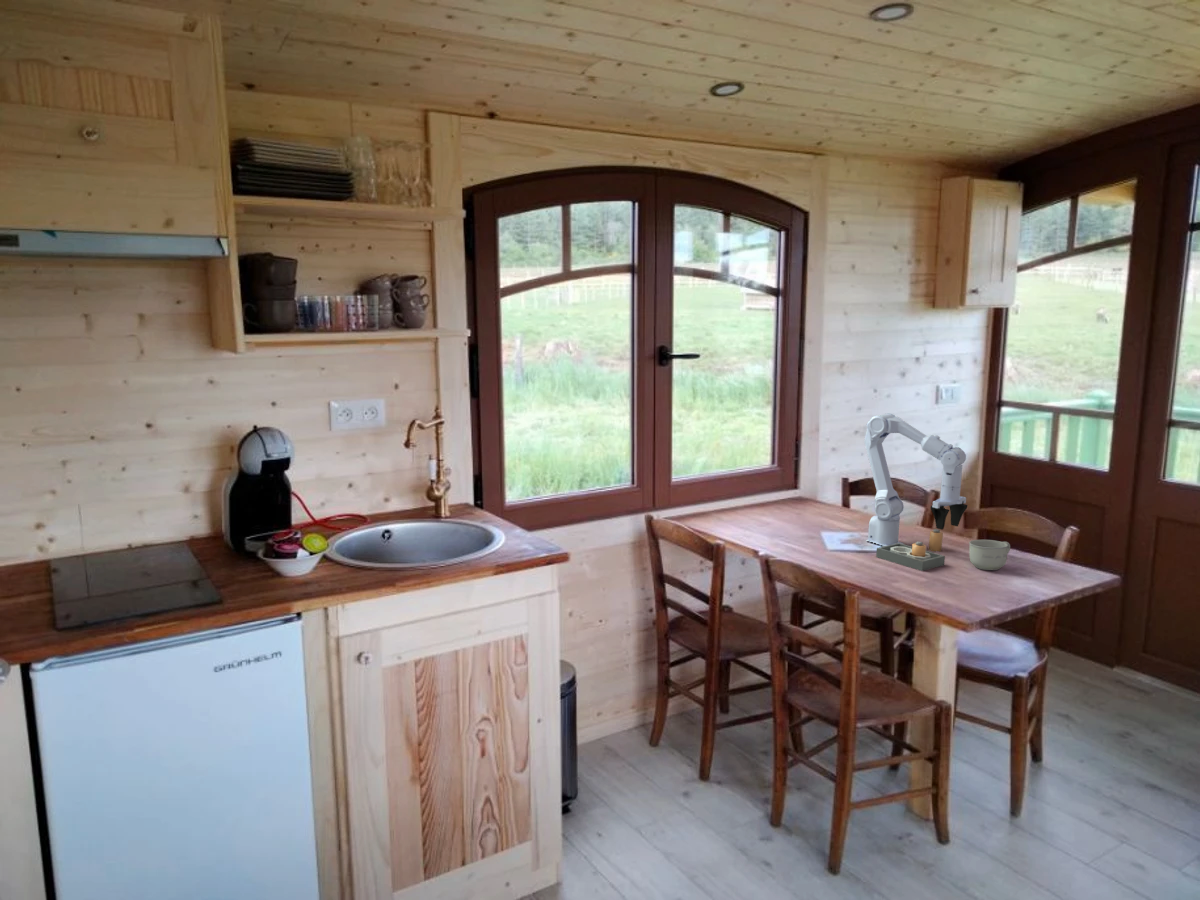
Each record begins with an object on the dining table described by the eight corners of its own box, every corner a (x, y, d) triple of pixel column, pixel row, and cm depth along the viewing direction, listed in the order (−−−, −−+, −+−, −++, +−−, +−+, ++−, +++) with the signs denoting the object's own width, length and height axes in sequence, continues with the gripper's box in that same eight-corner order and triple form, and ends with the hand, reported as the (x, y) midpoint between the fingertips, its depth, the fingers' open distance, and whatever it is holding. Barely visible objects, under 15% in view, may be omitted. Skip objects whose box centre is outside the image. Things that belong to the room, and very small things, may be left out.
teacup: (982, 574, 249) (984, 548, 248) (959, 563, 260) (961, 538, 258) (1022, 571, 252) (1025, 546, 251) (999, 561, 262) (1001, 536, 261)
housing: (876, 557, 266) (877, 536, 264) (898, 551, 272) (899, 531, 270) (922, 571, 252) (923, 549, 250) (944, 565, 258) (945, 544, 256)
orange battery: (926, 549, 275) (927, 529, 274) (933, 547, 277) (935, 527, 276) (936, 552, 271) (938, 532, 270) (944, 550, 274) (945, 530, 272)
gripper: (947, 490, 256) (944, 533, 259) (976, 485, 264) (972, 527, 266) (928, 486, 262) (924, 527, 264) (956, 481, 270) (952, 522, 272)
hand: (947, 527), depth 266 cm, fingers open, 7 cm apart
